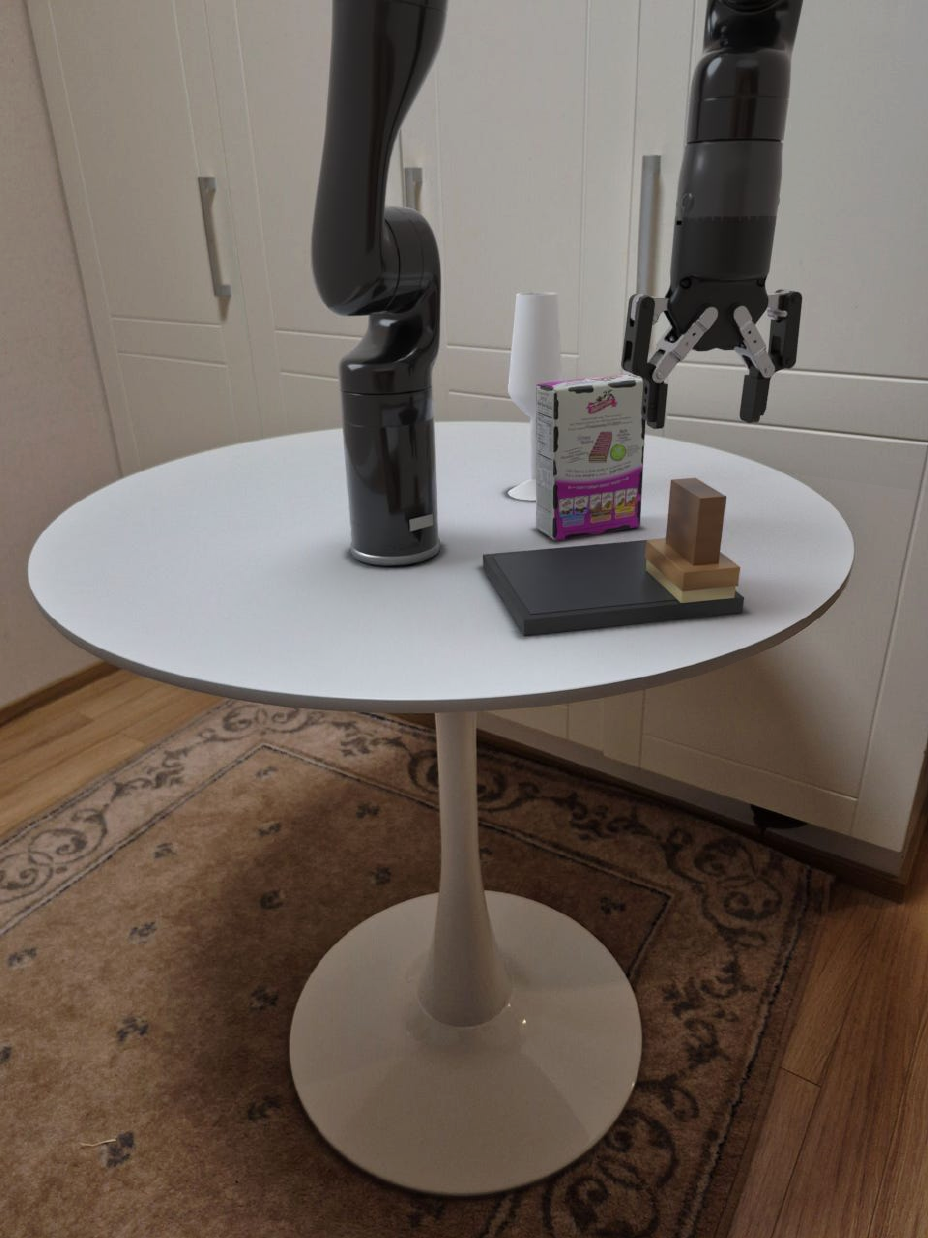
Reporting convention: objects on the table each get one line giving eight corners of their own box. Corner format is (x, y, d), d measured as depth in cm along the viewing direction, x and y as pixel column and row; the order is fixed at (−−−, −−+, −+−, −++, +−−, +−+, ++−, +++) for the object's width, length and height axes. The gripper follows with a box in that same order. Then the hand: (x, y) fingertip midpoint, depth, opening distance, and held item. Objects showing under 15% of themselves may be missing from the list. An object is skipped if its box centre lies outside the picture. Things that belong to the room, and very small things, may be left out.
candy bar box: (617, 515, 101) (626, 372, 94) (641, 528, 97) (651, 379, 90) (532, 529, 97) (534, 380, 90) (552, 542, 93) (556, 388, 86)
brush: (643, 569, 81) (650, 476, 78) (695, 564, 82) (704, 472, 78) (680, 604, 74) (690, 503, 70) (736, 598, 75) (749, 499, 71)
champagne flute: (504, 486, 113) (504, 292, 103) (554, 484, 113) (559, 290, 103) (512, 501, 107) (512, 296, 97) (565, 499, 107) (571, 294, 97)
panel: (482, 568, 87) (482, 553, 86) (668, 551, 90) (670, 536, 89) (523, 635, 72) (523, 619, 72) (742, 612, 76) (744, 596, 75)
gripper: (784, 210, 70) (757, 410, 77) (619, 212, 67) (606, 419, 74) (838, 210, 63) (803, 429, 70) (657, 212, 61) (639, 439, 68)
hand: (701, 424), depth 72 cm, fingers open, 8 cm apart
